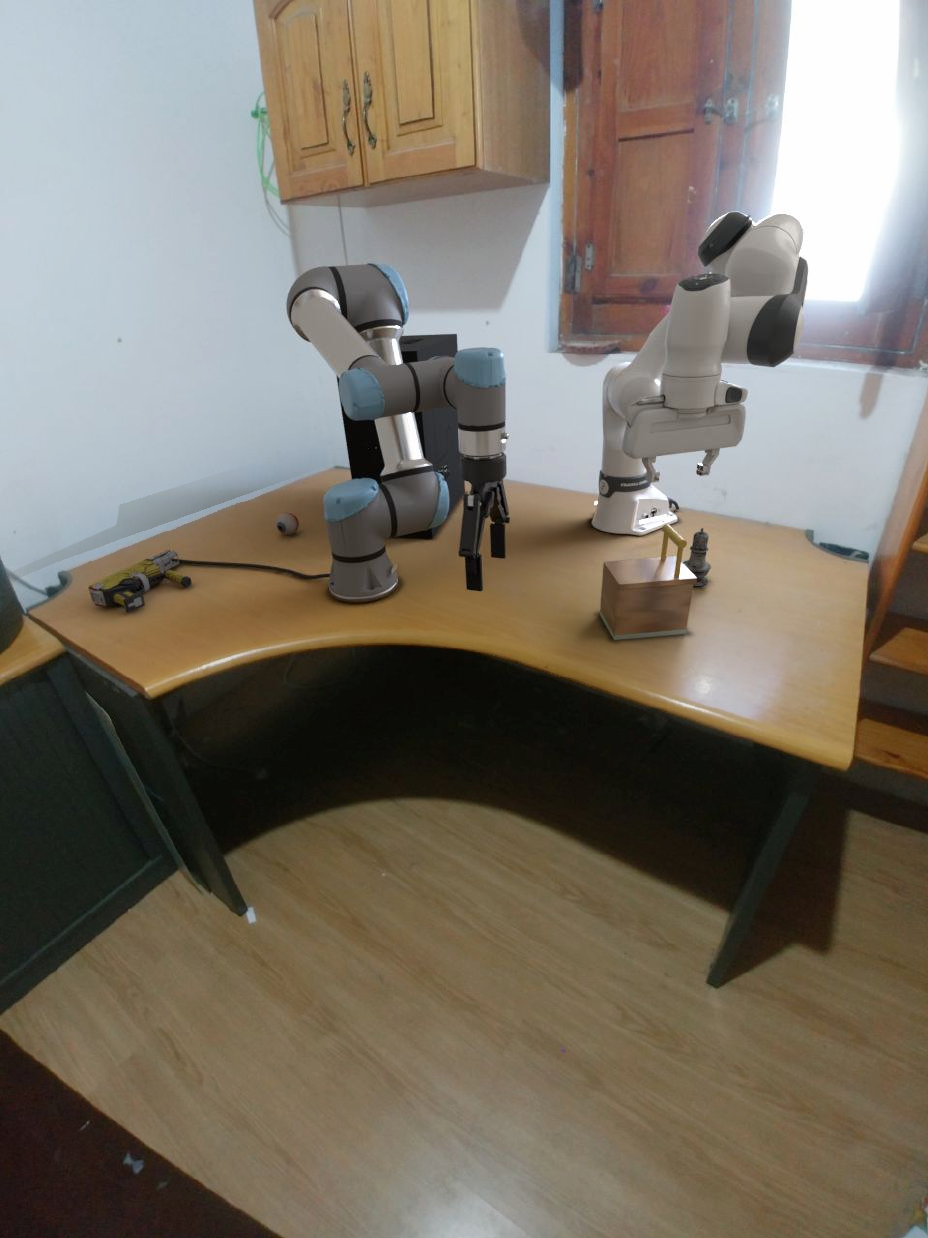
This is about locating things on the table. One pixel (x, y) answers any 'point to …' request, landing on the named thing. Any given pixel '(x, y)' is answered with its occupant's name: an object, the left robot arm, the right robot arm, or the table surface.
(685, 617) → the chest
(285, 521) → the eyeball
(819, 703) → the table surface
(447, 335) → the black box
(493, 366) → the left robot arm
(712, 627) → the table surface
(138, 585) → the toy gun
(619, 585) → the lid
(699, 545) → the salt shaker
